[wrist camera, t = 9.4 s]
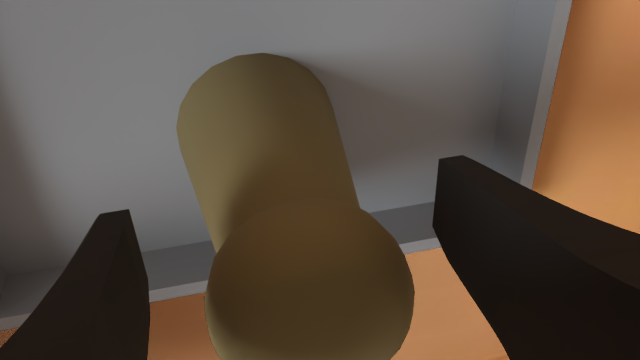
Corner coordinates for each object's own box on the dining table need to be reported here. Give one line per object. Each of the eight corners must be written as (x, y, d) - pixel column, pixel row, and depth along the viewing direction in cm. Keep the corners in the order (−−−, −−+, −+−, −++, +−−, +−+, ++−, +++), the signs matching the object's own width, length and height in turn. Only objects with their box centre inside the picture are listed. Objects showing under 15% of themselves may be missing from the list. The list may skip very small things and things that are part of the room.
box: (489, 193, 27) (522, 231, 25) (-1, 279, 23) (-19, 334, 21) (556, -210, 18) (618, -212, 16) (-219, -180, 14) (-295, -177, 12)
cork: (344, 169, 24) (457, 389, 15) (204, 211, 23) (233, 464, 14) (318, 33, 20) (445, 213, 11) (152, 78, 20) (147, 305, 11)
